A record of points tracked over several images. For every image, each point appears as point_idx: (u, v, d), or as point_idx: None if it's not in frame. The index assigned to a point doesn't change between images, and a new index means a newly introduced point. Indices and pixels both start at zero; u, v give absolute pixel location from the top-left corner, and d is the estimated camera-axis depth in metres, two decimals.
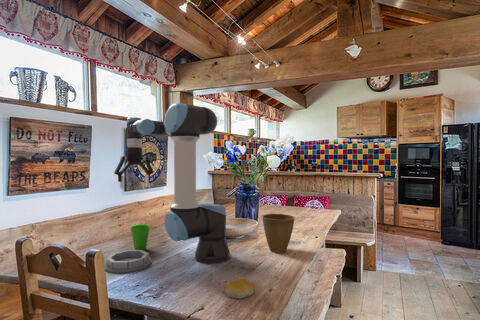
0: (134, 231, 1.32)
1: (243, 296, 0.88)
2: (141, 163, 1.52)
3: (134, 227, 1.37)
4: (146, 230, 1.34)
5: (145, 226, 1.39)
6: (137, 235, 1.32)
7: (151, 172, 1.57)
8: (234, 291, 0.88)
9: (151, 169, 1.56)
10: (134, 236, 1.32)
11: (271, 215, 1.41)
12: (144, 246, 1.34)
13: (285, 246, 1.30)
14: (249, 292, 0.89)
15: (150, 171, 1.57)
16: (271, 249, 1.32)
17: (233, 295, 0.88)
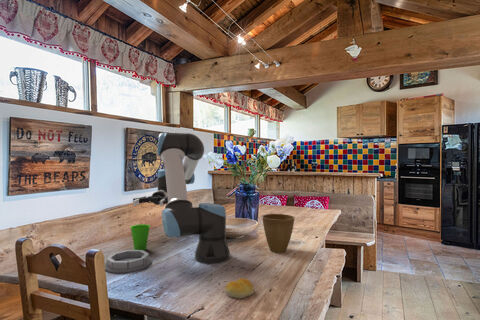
0: (134, 231, 1.32)
1: (243, 296, 0.88)
2: (160, 196, 1.58)
3: (134, 227, 1.37)
4: (146, 230, 1.34)
5: (145, 226, 1.39)
6: (137, 235, 1.32)
7: None
8: (234, 291, 0.88)
9: None
10: (134, 236, 1.32)
11: (271, 215, 1.41)
12: (144, 246, 1.34)
13: (285, 246, 1.30)
14: (249, 292, 0.89)
15: None
16: (271, 249, 1.32)
17: (233, 295, 0.88)
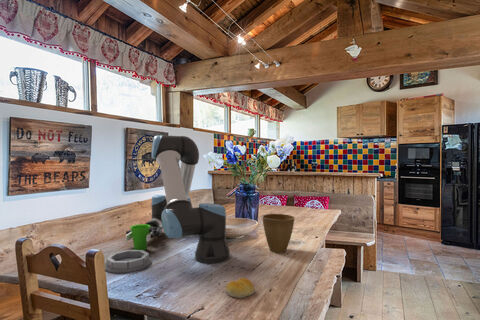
0: (134, 231, 1.32)
1: (244, 295, 0.88)
2: (151, 227, 1.45)
3: (134, 227, 1.37)
4: (146, 230, 1.34)
5: (145, 226, 1.39)
6: (137, 235, 1.32)
7: (157, 232, 1.39)
8: (234, 291, 0.89)
9: (158, 230, 1.40)
10: (134, 236, 1.32)
11: (271, 215, 1.41)
12: (144, 246, 1.34)
13: (285, 246, 1.30)
14: (250, 291, 0.89)
15: (157, 233, 1.39)
16: (271, 249, 1.32)
17: (234, 294, 0.88)
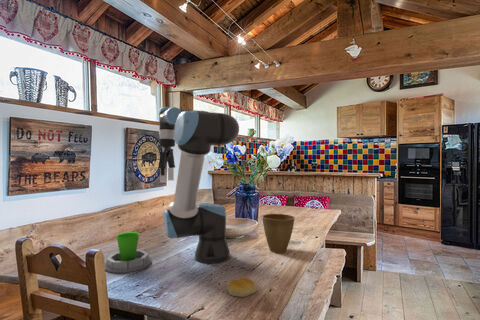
0: (120, 241, 1.13)
1: (245, 295, 0.89)
2: (172, 156, 1.46)
3: (121, 235, 1.18)
4: (135, 239, 1.15)
5: (134, 234, 1.20)
6: (124, 245, 1.13)
7: None
8: (236, 290, 0.89)
9: None
10: (120, 246, 1.13)
11: (271, 215, 1.41)
12: (132, 258, 1.15)
13: (285, 246, 1.30)
14: (251, 291, 0.90)
15: None
16: (271, 249, 1.32)
17: (235, 294, 0.89)
